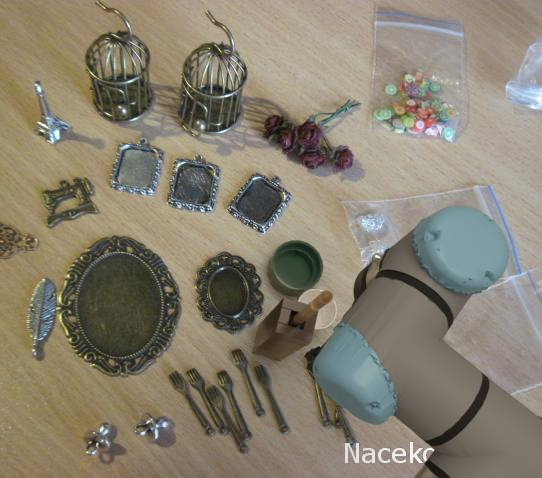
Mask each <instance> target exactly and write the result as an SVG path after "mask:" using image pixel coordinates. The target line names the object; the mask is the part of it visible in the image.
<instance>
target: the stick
mask: <svg viewBox="0 0 542 478" xmlns="http://www.w3.org/2000/svg"><path fill="white" fill-rule="evenodd" d="M332 299H334V294H333V293H332V292H331V290H327V289H326V290H323V292H322V293H321V294H319V295H318V296H317V297H316V298H315V299H314V300H312V301H311V302H310V303H309V304H308V305H307V306H305V307H304V308H303V309H302V310H301V311H300V312H298V313H297V314H296V315H295V316H294V317H293V318H291V319H290V320H289V323H288V324H289V326H292V327H295V328H296V327H297V326H299V325H300V324H301V323H303V322H304V321H305V320H306V319H308V318H309V317H310V316H312V315H313V314H314V313H316V312H317V311H318V310H320V309H321V308H322V307H324V306H325V305H326V304H328V303H329V302H330V301H331V300H332Z"/></svg>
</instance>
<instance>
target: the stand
mask: <svg viewBox="0 0 542 478" xmlns="http://www.w3.org/2000/svg"><path fill="white" fill-rule="evenodd" d="M307 305H308V304H305V303H302V302H298V301H297V300H295V299H292V298H289V297H286V296H285V297H283V298H282V299H281V300H280V301H279V302H278V303H277V305H276V306H275V307H274V308H273V309H272V310H271V311H270V312H269V313H268V314H267V315H266V317H264V319H263V320H262V321H261V322H260V323H259V324H258V327H257V331H256V335H255V339H254V342H253V347H252V350H251V353H252V354H254V355H258V356H262V357H264V358H268V359H271V360H274V361H278V362H281V361H282V360H284V359H286V358H287V357H290V356H291V355H293V354H295V353H297V352H298V351H300V350H301V349H303V348H306V347H308V346H309V345H310V344H312V341H313V338H314V333H315V332H314V329H315V324H316V320H317V315H318V311H319V310H318V311H317V312H316V313H314V314H313V315H312V316H310V317H309V318H308V319H306V320H305V321H304V322H303V323H301V324H300V325H299V326H297V327H296V328H295V327H292V326H289V324H288V323H289V320H290V319H291V318H293V317H294V316H295V315H296V314H297V313H298V312H300V311H301V310H302V309H303V308H304V307H305V306H307Z"/></svg>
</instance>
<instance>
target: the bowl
mask: <svg viewBox="0 0 542 478" xmlns="http://www.w3.org/2000/svg"><path fill="white" fill-rule="evenodd" d="M323 272H324V261H323V258H322V255H321V254H320V252H319V251H318V250H317V248H316V247H315V246H313V245H312V244H310V243H309V242H307V241H304V240H300V239H291V240H288V241H285V242H283V243H282V244H281V245H279V246H278V247H277V248H276V250H275V252H273V255H272V256H271V258H270V259H269V261H268V265H267V277H268V279H269V282H270V284H271V285H272V286H273V287H274V289H276V290H277V291H278V292H280V293H281V294H283V295H286V296H291V297H300V296H301V295H302V294H303V293H304V292H306V291H308V290H311V289H313V288H314V286H316V285H317V284H318V282H319V281H320V280H321V278H322V276H323Z"/></svg>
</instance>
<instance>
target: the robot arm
mask: <svg viewBox="0 0 542 478" xmlns="http://www.w3.org/2000/svg"><path fill="white" fill-rule="evenodd" d="M504 233H505V232H503V229H502V228H501V227H500V225H499V224H498V223H497V222H495V220H494V219H492V218H491V217H490V216H489V215H488V214H486V213H485V212H483V211H482V210H480V209H477V208H475V207H471V206H467V205H450V206H445V207H443V208H440V209H439V210H437V211H435V212H434V213H432V214H430V215H428V216H426V217H424V218H421V220H419V222H418V223H417V225H416V226H415V227H414V228H412V229H411V230H410V231H409V232H408V233H406V234H405V235H404V236H403V237H401V238H400V239H399V240H398V241H397V242H395V243H394V244H393V245H392V246H390V247H388V248H386V249H384V251H383V253H382V254H381V253H379V252H375V253H374V254H373V255H372V257H371V260H372V261H371V262H370V263H368V264H367V265H365V267H363V269H361V271H359V272H358V274H357V275H356V278H355V280H354V283H353V288H352V289H353V291H352V292H353V294H352V295H353V301H352V304H351V306H350V307H349V308H348V309H347V311H346V312H345V313H344V314H343V316H342V318H341V320H340V321H339V322H338V323H337V324H336V325H335V327H334V328H333V329H332V330H333V332H332V333H331V335H330V336H329V337H328V338H327V340H325V341H324V343H323V344H322V345H321V346H320V345H318V346H316V347H314V348H313V347H312V348H310V350H309V351H307V352H306V353H305V354H304V356H303V358H305V359H306V360H307V361H309V362H308V364H307V366H306V370H307V371H308V372H310V374H312V375H313V377H314V380H315V381H316V384H317V385H318V386H319V387H320V389H321V390H322V391H323V392H324V393H325V394H326V395H327V396H328V397H329V398H330V399H331V400H332V401H333V402H335V404H337V405H338V406H340V408H342V409H344V410H346V411H347V412H348V413H350V414H351V415H352V416H353V417H355V418H357V419H358V420H360V421H362V422H364V423H367V424H370V425H375V426H380V425H383V424H385V422H387V420H389V419H390V417H393V416H394V418H396V419H397V420H398V421H399V422H401V424H403V425H404V426H406V427H407V428H408V429H409V430H410V431H412V432H413V433H414V434H415V435H416V436H418V437H419V438H420V439H421V440H422V441H423V442H425V443H426V445H428V446H430V447H431V448H432V449H433V451H432V452H431V454H430V455H429V456H428V458H427V460H425V462H424V463H423V465H422V467H421V468H420V469H419V470H418V471H417V473H416V474H415V476H414V477H413V478H542V416H539V415H537V414H536V413H535V412H533V411H532V410H530V409H529V408H528V407H527V406H526V405H525V404H523V403H522V402H520V401H519V400H518V399H517V398H515V397H514V395H512V394H510V393H509V392H507V391H506V390H505V389H504V388H502V387H501V386H500V385H499V384H497V383H496V382H495V381H494V380H492V379H491V378H489V376H487V375H486V374H485V373H484V372H482V371H481V370H480V369H479V368H477V366H475V365H474V364H473V363H472V362H470V360H468V359H467V358H465V357H464V356H463V355H462V354H461V353H459V352H458V351H457V350H456V349H455V348H453V347H452V346H451V345H450V344H448V342H446V341H445V340H444V338H445V336H446V335H447V333H448V331H449V330H450V328H451V327H452V326H453V324H454V322H455V320H456V319H457V318H458V316H459V314H460V313H461V311H462V310H463V309H464V307H465V306H466V304H467V303H468V301H469V300H470V298H472V296H473V295H477V294H483V291H487V290H488V289H489V287H490V286H492V285H494V284H495V283H496V282H498V281H499V280H500V279H501V278H502V276H503V275H504V273H505V272H506V270H507V267H508V265H509V259H510V249H509V248H510V247H509V244H508V241H507V237H506V235H505V234H504Z"/></svg>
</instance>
